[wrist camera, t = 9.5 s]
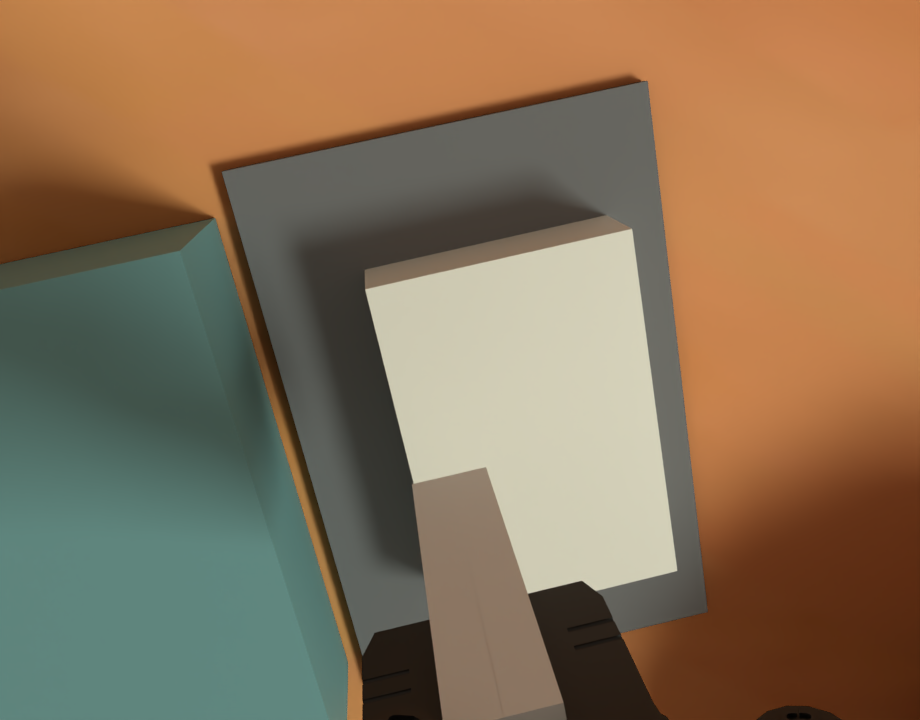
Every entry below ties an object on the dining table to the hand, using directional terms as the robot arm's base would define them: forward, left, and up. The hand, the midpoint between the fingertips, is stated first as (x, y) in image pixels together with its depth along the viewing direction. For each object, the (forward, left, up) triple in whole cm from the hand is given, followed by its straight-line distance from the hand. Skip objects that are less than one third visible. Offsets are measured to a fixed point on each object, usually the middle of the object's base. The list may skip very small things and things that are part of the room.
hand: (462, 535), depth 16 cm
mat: (+1, 0, -5) cm, 6 cm away
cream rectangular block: (+2, 0, -3) cm, 4 cm away
